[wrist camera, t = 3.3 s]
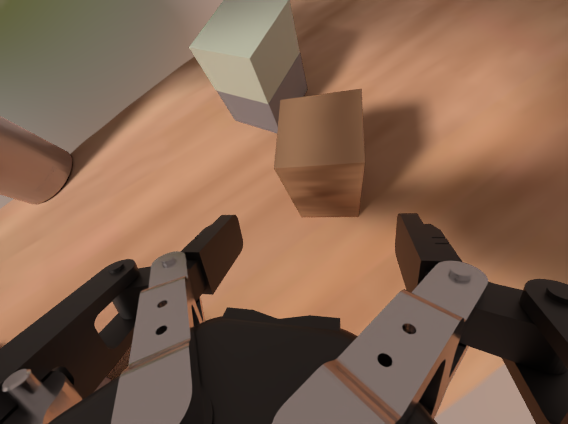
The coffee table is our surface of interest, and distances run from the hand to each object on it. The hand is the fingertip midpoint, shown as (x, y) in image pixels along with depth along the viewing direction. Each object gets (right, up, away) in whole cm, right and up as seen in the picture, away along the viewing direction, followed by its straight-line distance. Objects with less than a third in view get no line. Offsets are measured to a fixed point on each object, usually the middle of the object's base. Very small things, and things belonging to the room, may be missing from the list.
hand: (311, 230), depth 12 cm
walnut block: (+3, +3, +12) cm, 13 cm away
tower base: (-3, +14, +18) cm, 24 cm away
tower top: (-4, +16, +14) cm, 22 cm away
